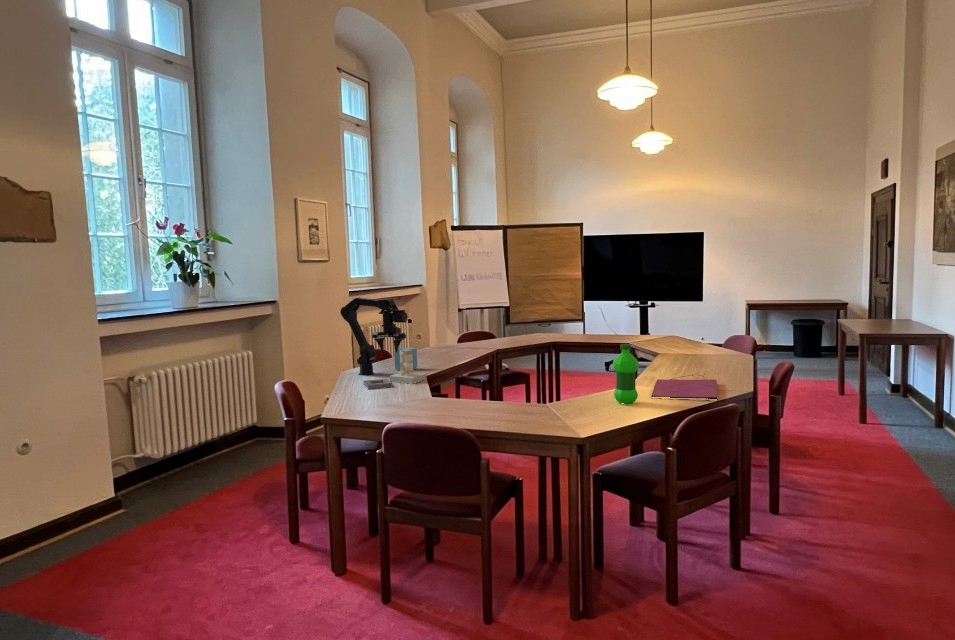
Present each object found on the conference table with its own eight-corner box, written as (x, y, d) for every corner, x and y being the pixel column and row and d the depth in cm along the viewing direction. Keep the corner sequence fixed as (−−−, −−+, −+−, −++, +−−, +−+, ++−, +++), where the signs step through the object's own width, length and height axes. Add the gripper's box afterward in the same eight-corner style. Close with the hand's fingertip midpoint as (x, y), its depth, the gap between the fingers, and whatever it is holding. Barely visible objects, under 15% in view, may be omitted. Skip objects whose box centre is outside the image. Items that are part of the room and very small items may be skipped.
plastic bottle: (614, 400, 285) (614, 342, 282) (639, 401, 281) (639, 343, 279) (611, 405, 276) (611, 346, 273) (637, 406, 272) (637, 346, 269)
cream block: (400, 375, 337) (399, 350, 336) (407, 374, 341) (406, 349, 339) (406, 376, 334) (405, 351, 333) (413, 374, 338) (412, 349, 336)
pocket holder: (363, 384, 332) (363, 380, 332) (387, 382, 336) (387, 378, 335) (367, 389, 320) (367, 385, 320) (392, 386, 324) (392, 382, 324)
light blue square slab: (417, 368, 372) (416, 347, 371) (416, 370, 368) (415, 348, 366) (396, 368, 373) (395, 347, 372) (395, 370, 368) (394, 349, 367)
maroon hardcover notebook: (717, 393, 277) (651, 392, 286) (717, 403, 277) (651, 401, 286) (716, 374, 314) (657, 373, 323) (716, 382, 315) (657, 381, 324)
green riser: (390, 381, 337) (389, 375, 337) (404, 377, 348) (404, 371, 347) (412, 384, 330) (412, 378, 330) (426, 379, 340) (426, 373, 340)
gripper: (411, 321, 352) (412, 350, 354) (384, 320, 362) (385, 348, 364) (398, 323, 343) (400, 353, 345) (370, 322, 352) (372, 351, 354)
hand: (389, 351), depth 352 cm, fingers open, 9 cm apart
